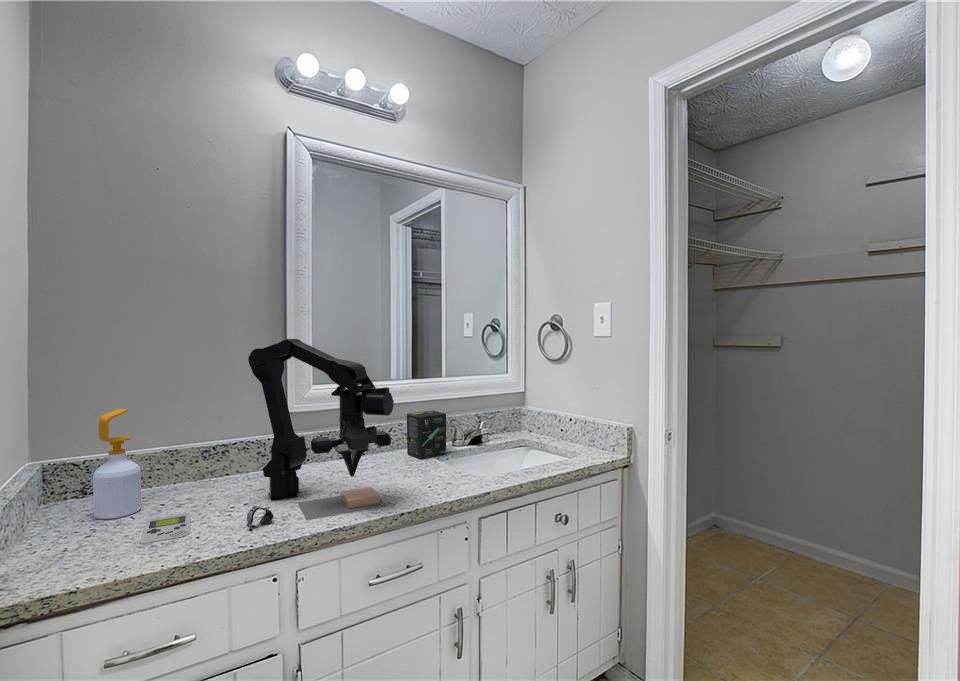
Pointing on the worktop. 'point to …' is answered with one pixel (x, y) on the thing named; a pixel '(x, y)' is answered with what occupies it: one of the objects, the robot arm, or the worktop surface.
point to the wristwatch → (265, 519)
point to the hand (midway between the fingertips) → (352, 476)
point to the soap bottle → (116, 477)
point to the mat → (330, 507)
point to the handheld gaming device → (166, 528)
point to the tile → (360, 497)
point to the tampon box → (426, 434)
